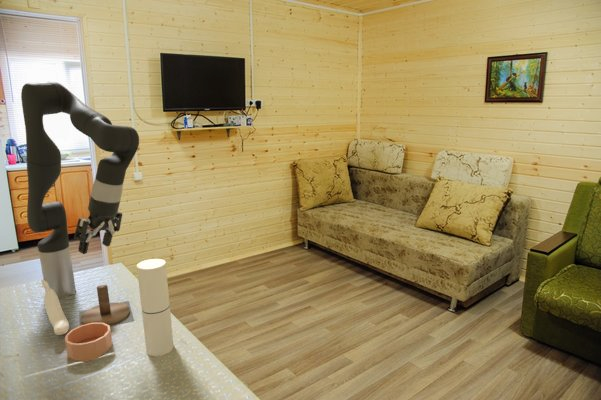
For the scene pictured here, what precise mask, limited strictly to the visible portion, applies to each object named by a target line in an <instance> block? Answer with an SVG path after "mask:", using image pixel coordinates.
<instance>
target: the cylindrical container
mask: <svg viewBox="0 0 601 400" xmlns="http://www.w3.org/2000/svg"><path fill="white" fill-rule="evenodd" d="M136 269H137V281H138V289H139V296H140V297H139V298H140V306H141V315H142V324H143V325H142V326H143V332H144V340H145V341H144V342H145V351H146V354H147V355H148V356H151V357H161V356H165V355H167V354H169V353H170V352H172V350H173V349H174V347H175V346H174V338H173V337H174V336H173V335H174V334H173V326H172V315H171V314H172V313H171V306H170V305H171V304H170V296H169V286H168V275H167V274H168V273H167V262H166V260H164V259H161V258H150V259H145V260H142V261H140V262H138V263H137V264H136Z"/></svg>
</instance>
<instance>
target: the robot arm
mask: <svg viewBox="0 0 601 400" xmlns="http://www.w3.org/2000/svg"><path fill="white" fill-rule="evenodd" d="M20 96H21V99H20V100H21V105H22V106H21V107H22V114H23V115H22V116H23V120H24V126H25V128H24V129H25V139H26V140H25V141H26V142H25V145H26V156H25V157H26V173H27V185H28V187H27V188H28V189H27V191H28V193H27V205H26V206H27V209H26V218H27V225H28V227H29V229H30V231H32V232H34V233H42V232H46V231H52V232H51V233H50V234H48V235H47V236H45V237H44V238H43V239H41V240H40V241H38V242H37V251H38V255H39V256H38V257H39V261H40V266H41V272H42V273H41V275H42V277H43V279H42V280H45V281H46V282H48V285H49V287H50V288H51V289H52V290H54V292H55V293H56V295H57V297H58V299H62V298H67V297H69V296H72V295H74V294H75V293H76V291H77V289H76V284H75V283H76V282H75V275H74V269H73V263H72V262H73V261H72V257H71V256H72V255H71V249H70V244H69V241H70V240H69V232H68V218H67V212H66V208H65V206H64V205H63V203H62V202H60V201H51V202H45V203H43V202H44V200H45V197H46V196H47V193H49V191H50V189H51V188H52V187H53V185H54V184H55V183H56V182H57V180H58V178H59V177H60V176H61V172H62V153H61V151H60V148H58V146H57V145H56V143H55V142H54V140H52V138H51V137H50V136H49V135H48V133H47V132H46V130H45V126H44V116H46V115H47V116H48V115H54V114H55V115H56V114H61V113H64V114H67V115H69V118H70V122H71V124H72V125H73V127H74V128H75V129H76V130H77V131H78V132H81V134H83V135H85V136H87V138H88V137H89V138H90V139H91V140H92V142H93V143H94V144H95V145H96V146H97V147H98V148H99V149H101V150H102V151H104V152H109V153H112V154H111V155H109V156H107V157H104V158H101V159H100V160H99V162H98V164H97V169H96V173H95V174H96V175H95V178H94V181H93V184H92V188H91V192H90V197H89V203H88V206H87V209H88V213H89V215H88V217H87V218H82V217H79V218H78V220H77V224H76V228H75V231H74V236H73V239H75V240H78V241H79V245H78V248H77V249H78V252H79V253H81V254H82V255H85V254H87V253H88V250H89V245H90V241H91V239H92V238H93V237H94V236H96V235H97V233H98V232H101V231H105V232H104V233H103V234H104V235H103V238H102V242H101V243H102V245H103V246H105V247H110V246H111V243H112V240H113V236H114V235H115V233H116V232H119V231H120V229H121V223H122V218H123V213H122V212H120V211H119V209H120V208H119V207H120V203H121V199H122V196H123V195H122V194H123V189H124V188H123V187H124V183H125V182H124V181H125V177H126V173H127V170H128V168H129V166H130V164H131V162H132V160H133V159H134V157H135V155H136V153H137V152H138V148H139V146H140V137H139V133H138V131H137V130H136V129H135V128H134V127H132V126H126V125H114V124H113V123H112V122H111V120H110V119H109V118H108V117H106V116H105V115H103V114H101V112H99V111H97V110H94V109H92V108H91V107H90V106H88V105H87V104H85V103H84V102H82V100H80V98H78V97H77V96H76V95H75V94H74V93H72V92H71V91H70V90H69V89H68V88H67V87H65V86H64V85H62V83H59V82H56V81H37V82H35V81H34V82H27V83H24V84H23V86H22V87H21V95H20ZM87 234H88V235H87ZM86 235H87V236H86ZM44 291H45V292H46V290H45V289H44Z"/></svg>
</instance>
